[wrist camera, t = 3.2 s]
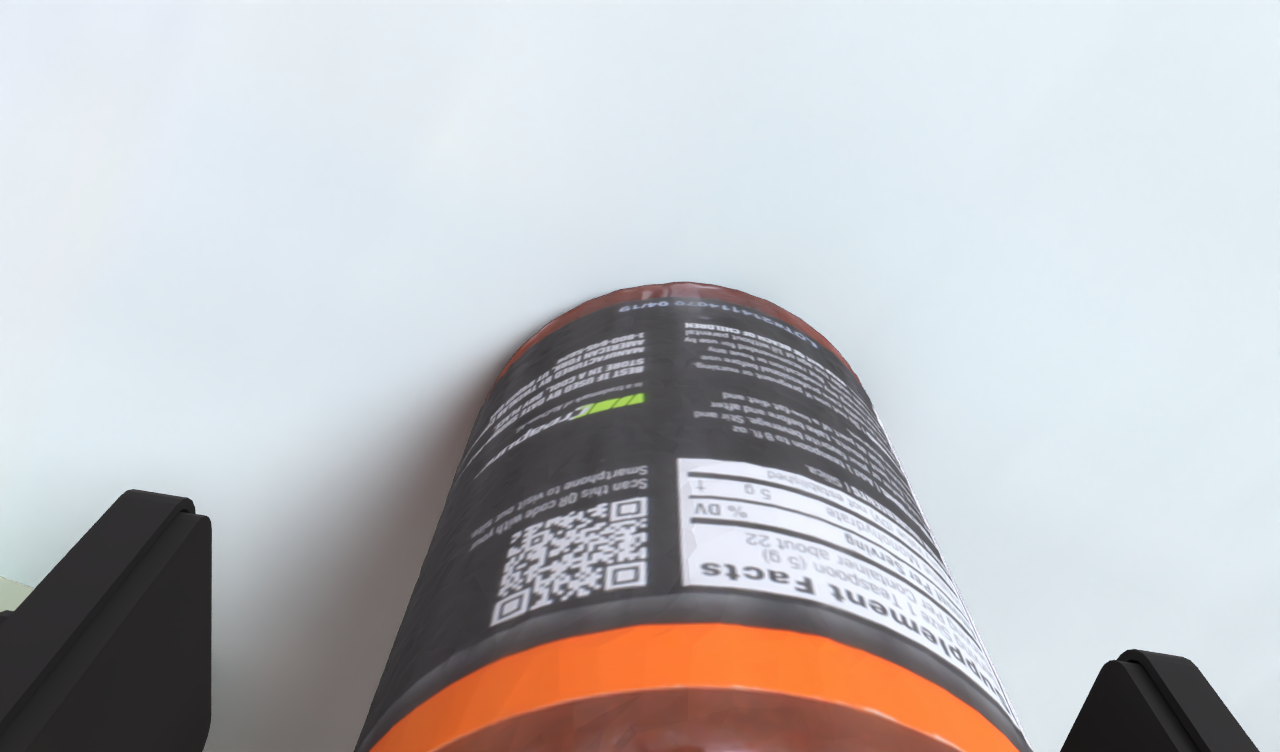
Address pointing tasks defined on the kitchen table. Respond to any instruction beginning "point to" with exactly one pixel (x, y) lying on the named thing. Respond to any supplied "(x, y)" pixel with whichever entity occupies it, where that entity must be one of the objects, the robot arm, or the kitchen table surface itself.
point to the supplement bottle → (685, 556)
